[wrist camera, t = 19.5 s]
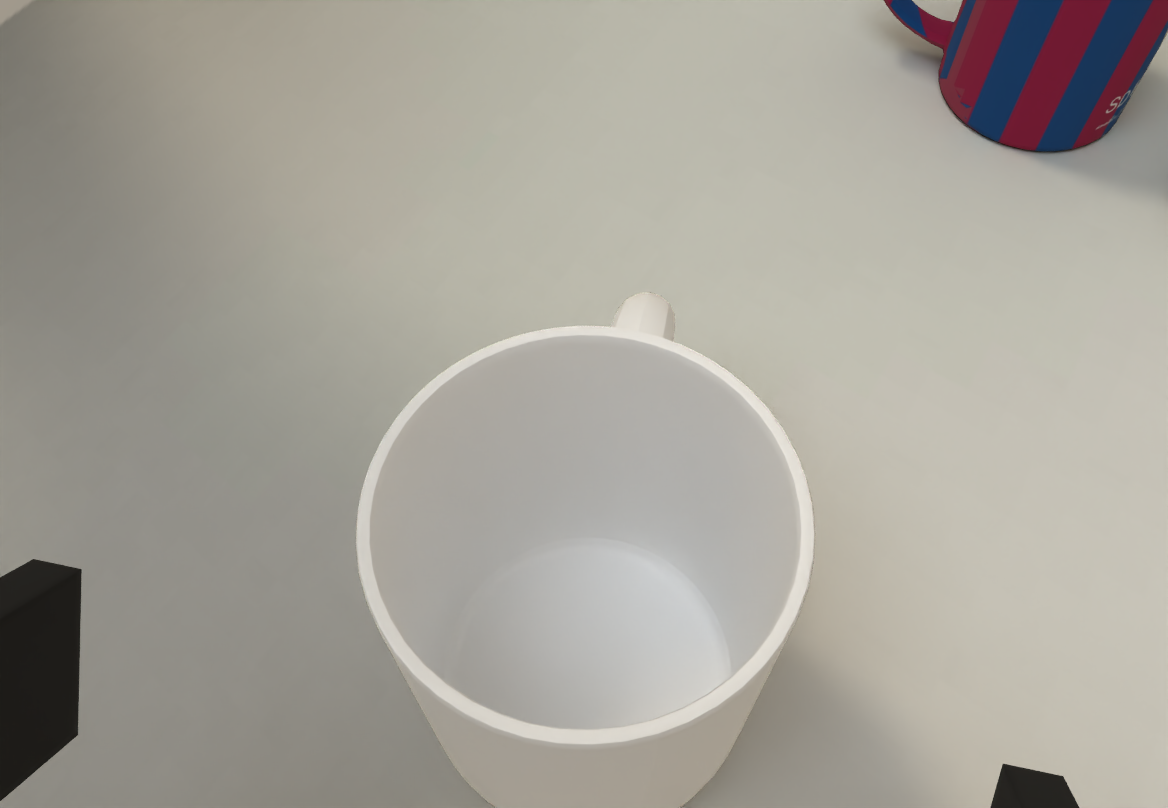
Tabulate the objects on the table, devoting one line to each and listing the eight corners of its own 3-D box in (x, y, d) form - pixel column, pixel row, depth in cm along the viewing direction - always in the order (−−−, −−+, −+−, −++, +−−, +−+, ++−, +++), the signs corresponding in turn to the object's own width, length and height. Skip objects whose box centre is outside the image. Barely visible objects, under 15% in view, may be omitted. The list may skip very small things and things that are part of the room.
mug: (516, 400, 32) (486, 160, 23) (782, 454, 31) (858, 225, 22) (389, 797, 26) (282, 679, 17) (715, 882, 25) (783, 802, 16)
